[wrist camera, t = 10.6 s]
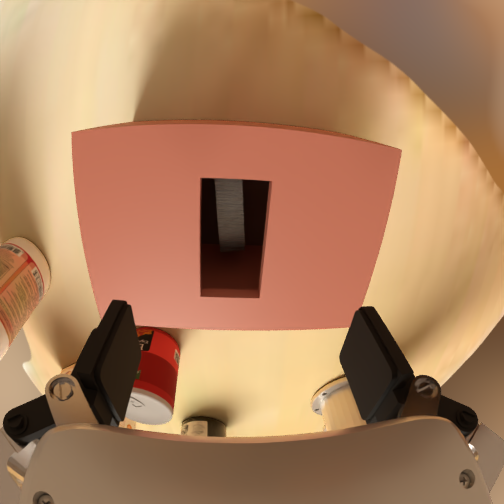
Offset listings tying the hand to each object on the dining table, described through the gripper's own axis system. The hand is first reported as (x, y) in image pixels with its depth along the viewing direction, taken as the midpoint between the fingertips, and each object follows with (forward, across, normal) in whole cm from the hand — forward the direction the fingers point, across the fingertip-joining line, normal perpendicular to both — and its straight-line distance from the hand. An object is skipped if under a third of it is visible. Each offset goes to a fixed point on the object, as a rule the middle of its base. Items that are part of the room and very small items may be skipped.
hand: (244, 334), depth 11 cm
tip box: (+19, +1, -1) cm, 19 cm away
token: (+15, +1, -4) cm, 16 cm away
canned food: (+20, +11, +21) cm, 31 cm away
